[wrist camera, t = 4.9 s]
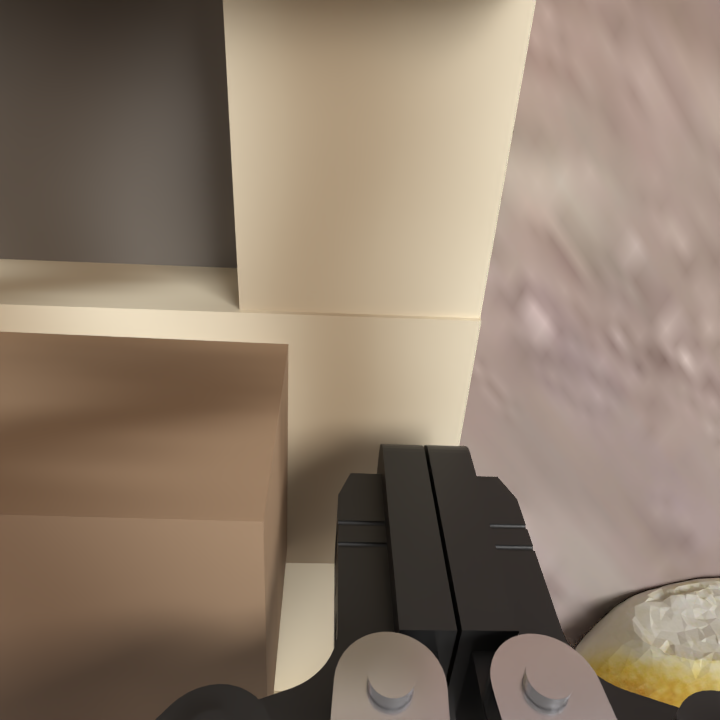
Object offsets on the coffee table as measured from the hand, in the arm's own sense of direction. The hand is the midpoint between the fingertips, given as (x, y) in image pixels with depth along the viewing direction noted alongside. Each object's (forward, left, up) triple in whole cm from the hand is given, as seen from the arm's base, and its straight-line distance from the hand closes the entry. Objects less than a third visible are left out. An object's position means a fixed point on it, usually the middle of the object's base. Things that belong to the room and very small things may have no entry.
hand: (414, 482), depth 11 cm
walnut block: (+5, 0, -1) cm, 5 cm away
